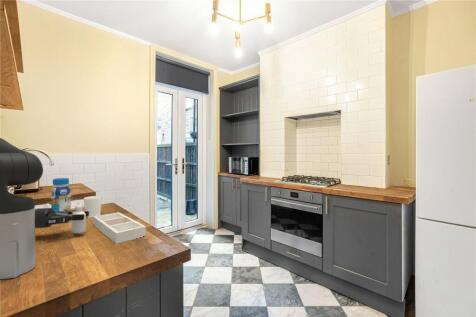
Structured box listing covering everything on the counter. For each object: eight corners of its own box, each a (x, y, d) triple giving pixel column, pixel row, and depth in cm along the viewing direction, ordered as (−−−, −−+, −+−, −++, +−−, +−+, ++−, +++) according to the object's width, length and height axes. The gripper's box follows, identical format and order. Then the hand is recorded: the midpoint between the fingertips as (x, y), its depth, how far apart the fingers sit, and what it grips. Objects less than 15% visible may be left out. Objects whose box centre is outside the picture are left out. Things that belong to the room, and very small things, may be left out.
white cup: (81, 218, 115) (81, 199, 115) (87, 214, 122) (87, 196, 122) (98, 217, 117) (98, 198, 117) (103, 213, 125) (103, 195, 124)
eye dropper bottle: (84, 229, 95) (84, 200, 95) (86, 232, 91) (86, 202, 91) (71, 231, 92) (71, 202, 92) (72, 234, 88) (72, 204, 88)
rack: (145, 236, 91) (145, 226, 91) (116, 243, 83) (116, 233, 83) (119, 220, 112) (118, 212, 112) (93, 225, 105) (93, 216, 104)
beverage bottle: (53, 215, 121) (52, 178, 121) (72, 213, 125) (72, 177, 125) (48, 219, 114) (48, 179, 113) (69, 217, 117) (69, 179, 117)
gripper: (24, 213, 81) (79, 210, 86) (46, 204, 95) (92, 202, 99) (24, 234, 81) (79, 229, 86) (46, 222, 95) (92, 219, 99)
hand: (86, 215), depth 92 cm, fingers closed on eye dropper bottle, 4 cm apart
